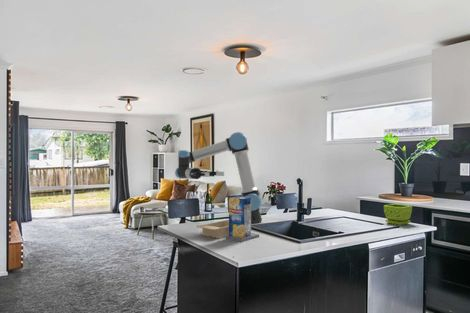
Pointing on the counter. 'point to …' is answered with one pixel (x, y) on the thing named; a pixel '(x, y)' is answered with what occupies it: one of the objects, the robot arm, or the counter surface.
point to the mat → (242, 238)
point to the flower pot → (398, 214)
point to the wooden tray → (216, 229)
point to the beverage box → (240, 216)
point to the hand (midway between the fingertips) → (216, 174)
